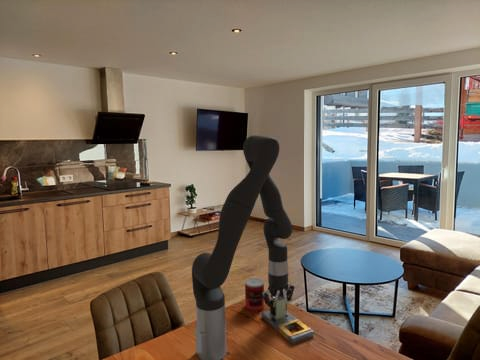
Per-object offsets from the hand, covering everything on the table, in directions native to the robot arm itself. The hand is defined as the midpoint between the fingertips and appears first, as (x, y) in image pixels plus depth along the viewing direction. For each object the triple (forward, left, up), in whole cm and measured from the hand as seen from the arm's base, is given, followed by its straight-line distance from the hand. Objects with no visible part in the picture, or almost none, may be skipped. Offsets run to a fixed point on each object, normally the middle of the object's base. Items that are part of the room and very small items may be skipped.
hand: (278, 313), depth 130 cm
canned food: (-3, +13, -3) cm, 14 cm away
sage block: (0, 0, -3) cm, 3 cm away
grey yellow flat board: (0, -5, -3) cm, 6 cm away
